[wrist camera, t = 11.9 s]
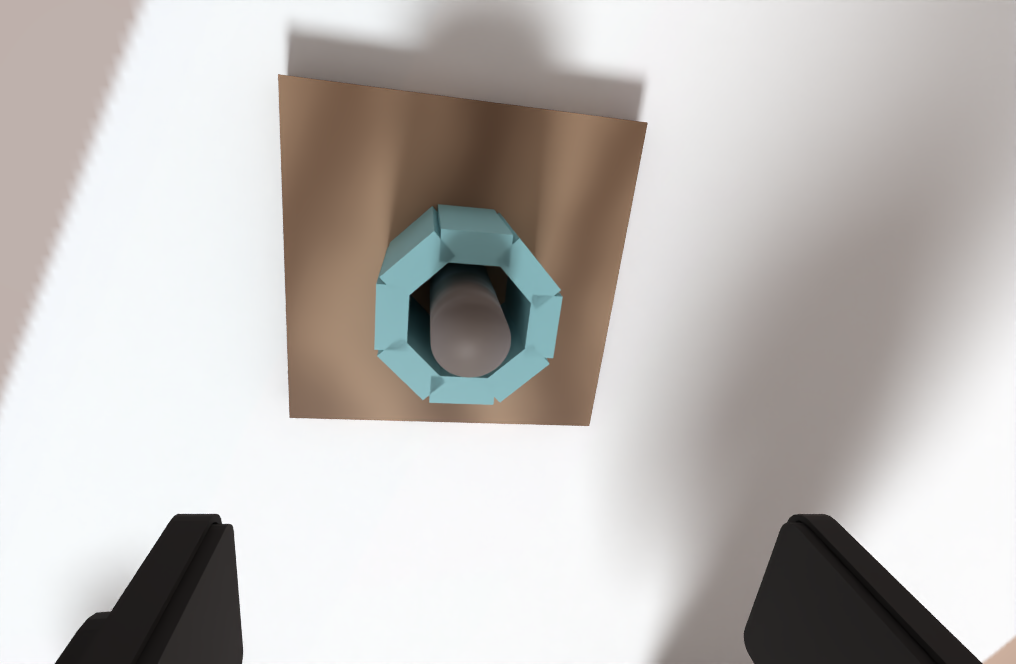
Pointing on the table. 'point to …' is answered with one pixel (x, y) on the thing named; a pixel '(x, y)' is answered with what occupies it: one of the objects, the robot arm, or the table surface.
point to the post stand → (456, 287)
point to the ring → (408, 324)
